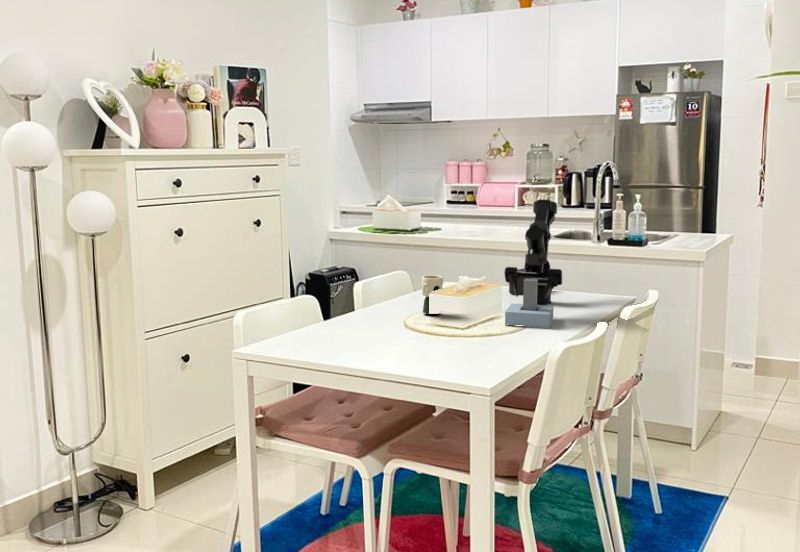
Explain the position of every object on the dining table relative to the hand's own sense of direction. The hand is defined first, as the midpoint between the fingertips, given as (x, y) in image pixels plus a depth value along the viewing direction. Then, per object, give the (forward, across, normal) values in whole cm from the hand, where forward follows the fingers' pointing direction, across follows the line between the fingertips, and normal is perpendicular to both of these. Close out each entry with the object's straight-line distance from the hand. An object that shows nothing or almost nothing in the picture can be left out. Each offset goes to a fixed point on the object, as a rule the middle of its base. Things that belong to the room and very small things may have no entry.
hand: (530, 296), depth 267 cm
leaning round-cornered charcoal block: (-29, -8, +41) cm, 51 cm away
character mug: (+6, -33, +6) cm, 34 cm away
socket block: (+7, 0, +4) cm, 8 cm away
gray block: (+7, 0, +3) cm, 7 cm away
